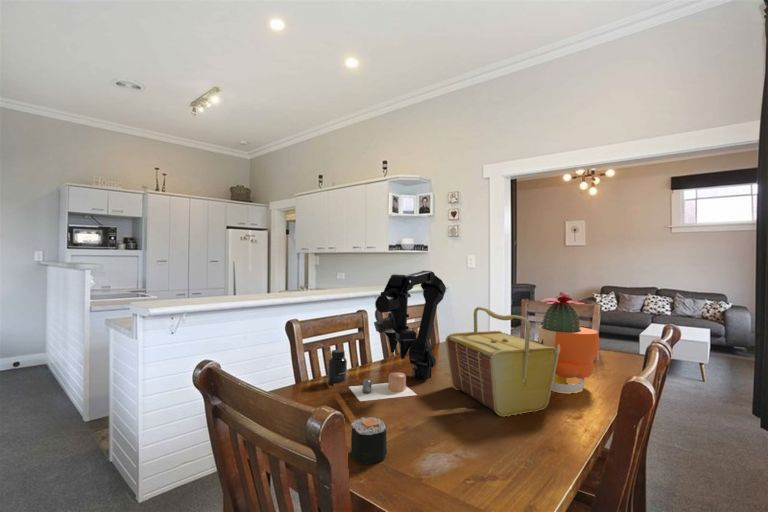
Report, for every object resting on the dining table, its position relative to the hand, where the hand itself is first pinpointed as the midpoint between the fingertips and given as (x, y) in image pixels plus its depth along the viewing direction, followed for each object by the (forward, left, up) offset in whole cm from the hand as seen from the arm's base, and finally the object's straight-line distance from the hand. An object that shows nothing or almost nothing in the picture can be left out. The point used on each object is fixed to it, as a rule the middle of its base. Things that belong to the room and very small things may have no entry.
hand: (397, 355), depth 134 cm
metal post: (+11, 0, -12) cm, 16 cm away
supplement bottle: (+17, -16, -13) cm, 27 cm away
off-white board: (+5, 0, -13) cm, 14 cm away
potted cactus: (-66, +10, -13) cm, 68 cm away
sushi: (+22, +36, -13) cm, 45 cm away
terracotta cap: (0, 0, -12) cm, 12 cm away
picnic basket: (-31, +15, -13) cm, 37 cm away
